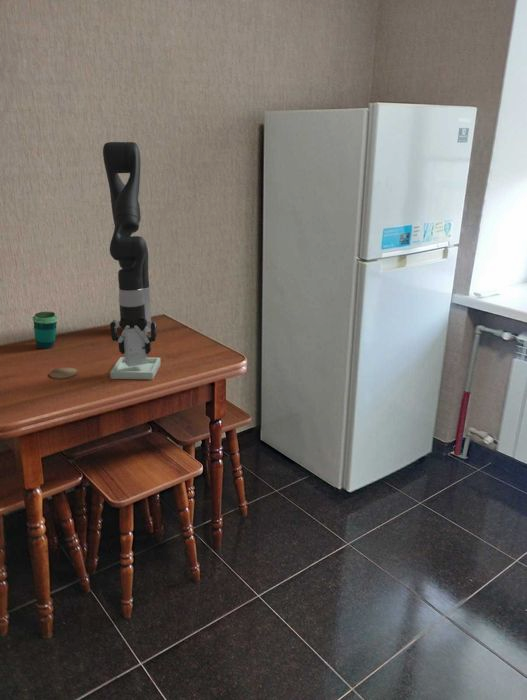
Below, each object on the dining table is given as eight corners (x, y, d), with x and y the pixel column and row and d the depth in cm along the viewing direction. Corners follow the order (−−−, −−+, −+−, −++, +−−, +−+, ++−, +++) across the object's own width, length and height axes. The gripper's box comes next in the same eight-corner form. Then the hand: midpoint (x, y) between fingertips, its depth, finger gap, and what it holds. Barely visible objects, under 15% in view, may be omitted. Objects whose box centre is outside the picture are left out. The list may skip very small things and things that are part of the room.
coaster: (55, 369, 181) (55, 367, 181) (80, 369, 181) (80, 367, 181) (46, 378, 173) (45, 376, 173) (72, 379, 173) (72, 377, 173)
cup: (46, 341, 205) (42, 309, 201) (65, 344, 203) (61, 312, 199) (31, 348, 198) (26, 315, 194) (50, 351, 196) (46, 318, 192)
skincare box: (129, 367, 176) (126, 330, 172) (124, 363, 179) (121, 326, 175) (148, 363, 179) (145, 327, 175) (142, 359, 183) (140, 323, 179)
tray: (121, 363, 186) (120, 357, 186) (160, 363, 186) (160, 357, 186) (110, 378, 174) (110, 371, 173) (152, 379, 174) (152, 372, 173)
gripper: (157, 299, 176) (160, 349, 182) (111, 299, 176) (115, 349, 182) (153, 306, 169) (155, 357, 175) (105, 305, 169) (109, 357, 175)
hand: (135, 353), depth 178 cm, fingers closed on skincare box, 7 cm apart
